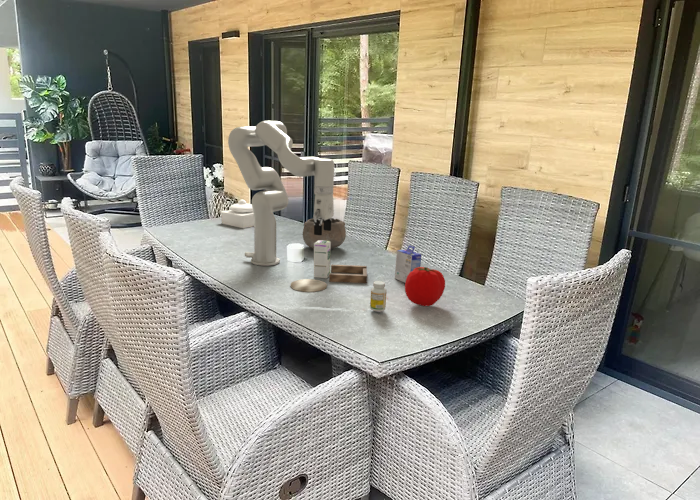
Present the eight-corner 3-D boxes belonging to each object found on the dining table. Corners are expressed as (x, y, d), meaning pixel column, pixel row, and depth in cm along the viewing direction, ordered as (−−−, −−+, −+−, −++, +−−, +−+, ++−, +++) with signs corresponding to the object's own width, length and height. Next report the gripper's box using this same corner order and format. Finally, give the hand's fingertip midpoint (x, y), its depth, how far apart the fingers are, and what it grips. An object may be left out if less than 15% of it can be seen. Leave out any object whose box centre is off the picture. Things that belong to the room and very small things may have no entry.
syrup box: (327, 278, 216) (328, 243, 212) (313, 277, 217) (313, 242, 213) (330, 274, 221) (331, 240, 218) (316, 273, 222) (317, 239, 219)
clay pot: (295, 251, 256) (295, 220, 252) (313, 242, 275) (314, 214, 271) (335, 257, 249) (336, 225, 245) (351, 247, 267) (352, 218, 264)
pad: (288, 291, 199) (288, 289, 199) (292, 279, 212) (292, 278, 212) (325, 292, 199) (325, 291, 199) (327, 281, 212) (327, 279, 212)
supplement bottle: (379, 313, 180) (380, 286, 178) (366, 309, 184) (368, 282, 181) (388, 309, 184) (390, 282, 182) (376, 305, 188) (377, 279, 185)
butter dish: (265, 226, 310) (265, 199, 306) (242, 231, 296) (242, 203, 292) (243, 222, 320) (243, 196, 316) (220, 226, 305) (220, 199, 301)
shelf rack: (329, 281, 212) (329, 274, 211) (331, 271, 226) (331, 264, 225) (366, 283, 212) (367, 275, 211) (366, 272, 226) (366, 265, 225)
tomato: (415, 312, 182) (417, 273, 179) (395, 299, 195) (398, 263, 191) (453, 307, 189) (456, 270, 185) (432, 295, 201) (435, 260, 197)
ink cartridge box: (420, 283, 214) (422, 248, 211) (409, 285, 211) (412, 250, 208) (404, 276, 222) (406, 243, 219) (394, 278, 219) (396, 244, 216)
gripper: (324, 193, 201) (323, 237, 205) (340, 188, 217) (339, 229, 221) (306, 192, 204) (305, 235, 208) (323, 187, 219) (322, 227, 224)
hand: (322, 232), depth 215 cm, fingers open, 9 cm apart
